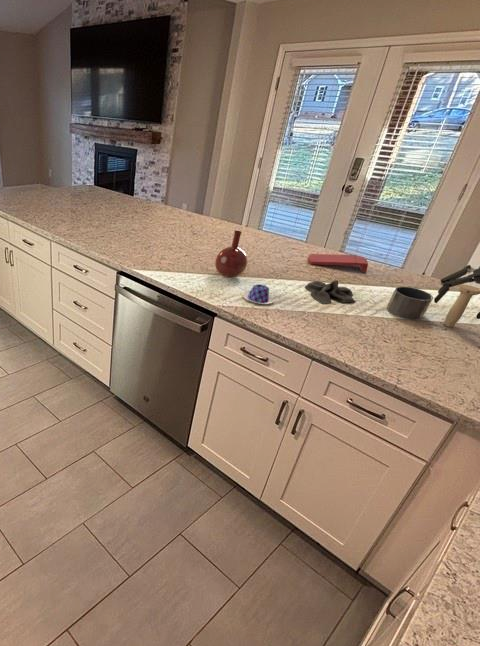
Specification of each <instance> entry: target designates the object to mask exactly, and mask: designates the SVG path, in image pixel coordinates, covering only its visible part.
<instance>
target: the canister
mask: <svg viewBox="0 0 480 646" xmlns="http://www.w3.org/2000/svg"><path fill="white" fill-rule="evenodd" d="M433 301H434V296H433V295H432V294H431V293H429V292H428V291H425V290H422V289H419V288H416V287H410V286H396V287H394V289H393V292H392V294H391V296H390V297H389V300H388V302H387V304H386V308H385V309H386V310H387V312H389V313H390V314H391V315H394V316H396V317H398V318H402V319H404V320H405V319H406V320H412V321H413V320H415V321H419V320H422V319H423V318H424V317H425V315H426V314H427V311H428V309H429V307H430V306H431V303H432V302H433Z"/></svg>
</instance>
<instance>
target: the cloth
mask: <svg viewBox="0 0 480 646" xmlns="http://www.w3.org/2000/svg"><path fill="white" fill-rule="evenodd" d="M304 288H305V290H307V291H309V292H310V296H311V298H313V299H314V300H316V301H317V302H319V303H320V304H322V305H328V304H332V300H334V301H336V302H338V303H340V304H346V303H356V300H355V299H354V298H353V297H354V295H353V291H352V290H351V289H350V288H349V287H346V286H339V280H337V279H334V280H332V281H331V282H330V283H327V284H326V283H325V282H324V281H319V280H313V281H310V282H309V283H307V284H306V285H305V286H304Z"/></svg>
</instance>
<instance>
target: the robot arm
mask: <svg viewBox="0 0 480 646" xmlns="http://www.w3.org/2000/svg"><path fill="white" fill-rule="evenodd" d="M467 274H468V275H467ZM468 283H475V284H478V285H480V266H478V267H477V268H474V267H472V266H471V264H467V265H466V266H465V267H463V268H462V269H460V270H458V271H455V272H453V273H451V274H449V275H447V276H445V277H443V278H440V285H441V287H440V288H439V289H438V290H437V295H436V296H435V297H433V301H434V304H438V302H439V301H440V300H441V299H443V297H444V296H445V295H446V294H447V293H448V292H449V291H450V288H453V287H456V286H457V287H458V286H459V284H464V285H465V284H468ZM475 318H476V319H477V320H480V311H479V312H478V313H477V314H476V317H475Z"/></svg>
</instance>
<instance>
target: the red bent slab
mask: <svg viewBox="0 0 480 646" xmlns="http://www.w3.org/2000/svg"><path fill="white" fill-rule="evenodd" d="M307 263H308V264H310V265H323V266H325V265H327V266H352V267H353V266H354V267H356V266H357V267H359V269H360V272H361V273H366V272H367V269H368V266H369V263H368V259H367V258H365V257H363V256H361V255H357V254H335V253H332V254H329V253H310V254H308V257H307Z"/></svg>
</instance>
